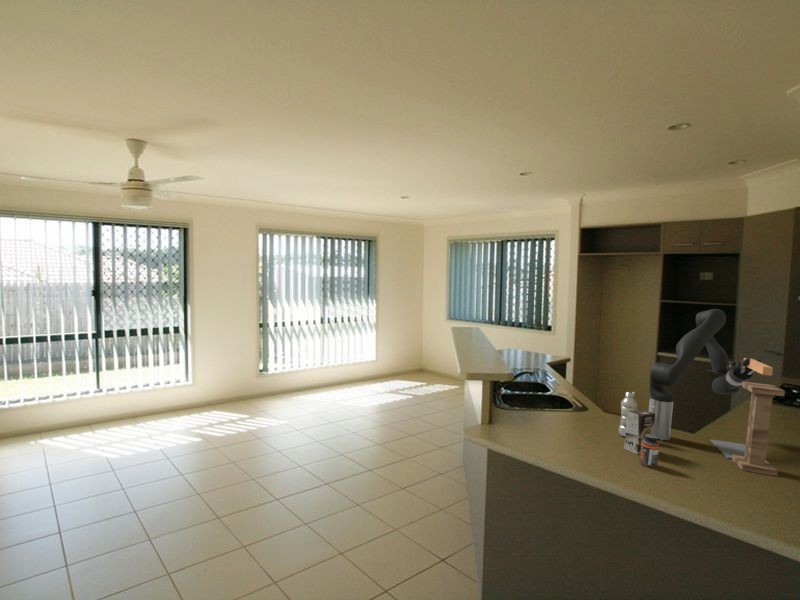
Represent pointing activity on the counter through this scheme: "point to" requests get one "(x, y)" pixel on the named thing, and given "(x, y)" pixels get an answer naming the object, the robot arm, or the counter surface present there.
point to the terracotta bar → (760, 367)
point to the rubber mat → (730, 448)
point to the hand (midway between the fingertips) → (754, 361)
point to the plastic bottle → (626, 410)
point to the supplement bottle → (649, 451)
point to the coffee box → (638, 429)
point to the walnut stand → (758, 429)
